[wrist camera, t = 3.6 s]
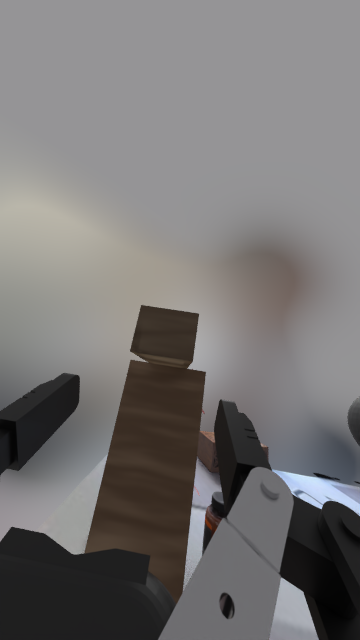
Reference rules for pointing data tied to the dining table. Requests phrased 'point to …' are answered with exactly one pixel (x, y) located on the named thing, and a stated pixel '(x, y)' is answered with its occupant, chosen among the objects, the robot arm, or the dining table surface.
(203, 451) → the tissue box cover
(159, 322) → the brown wooden bar
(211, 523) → the supplement bottle
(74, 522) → the dining table surface
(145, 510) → the stand
